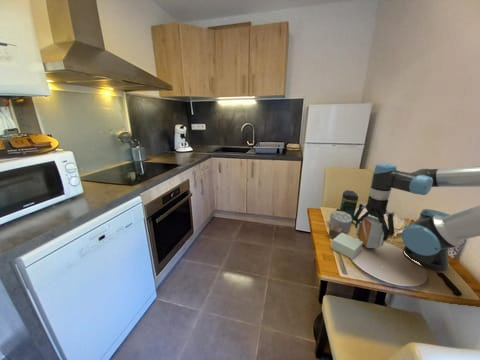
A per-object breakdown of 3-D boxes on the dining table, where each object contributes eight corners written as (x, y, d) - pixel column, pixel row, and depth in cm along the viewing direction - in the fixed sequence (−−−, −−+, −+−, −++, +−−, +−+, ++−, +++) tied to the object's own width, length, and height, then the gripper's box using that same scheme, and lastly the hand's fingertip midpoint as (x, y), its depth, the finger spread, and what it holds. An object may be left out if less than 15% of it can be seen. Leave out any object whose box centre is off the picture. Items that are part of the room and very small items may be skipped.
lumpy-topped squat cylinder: (346, 223, 119) (349, 210, 117) (352, 235, 107) (355, 221, 105) (328, 220, 122) (330, 208, 119) (331, 232, 110) (334, 218, 107)
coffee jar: (353, 224, 118) (360, 196, 112) (339, 222, 120) (345, 194, 114) (350, 217, 126) (356, 190, 121) (337, 215, 129) (342, 188, 123)
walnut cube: (340, 236, 106) (342, 228, 104) (338, 240, 102) (339, 232, 101) (331, 233, 109) (332, 225, 107) (328, 237, 105) (329, 228, 104)
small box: (357, 238, 101) (362, 215, 97) (370, 238, 101) (375, 215, 97) (366, 247, 93) (371, 223, 90) (380, 248, 93) (386, 223, 89)
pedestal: (360, 250, 95) (363, 241, 94) (352, 259, 89) (354, 250, 88) (339, 240, 102) (341, 232, 101) (330, 248, 96) (332, 239, 95)
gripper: (412, 204, 83) (399, 249, 90) (357, 189, 101) (349, 227, 108) (405, 208, 79) (392, 255, 86) (349, 191, 97) (342, 231, 104)
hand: (368, 239), depth 97 cm, fingers closed on small box, 10 cm apart
